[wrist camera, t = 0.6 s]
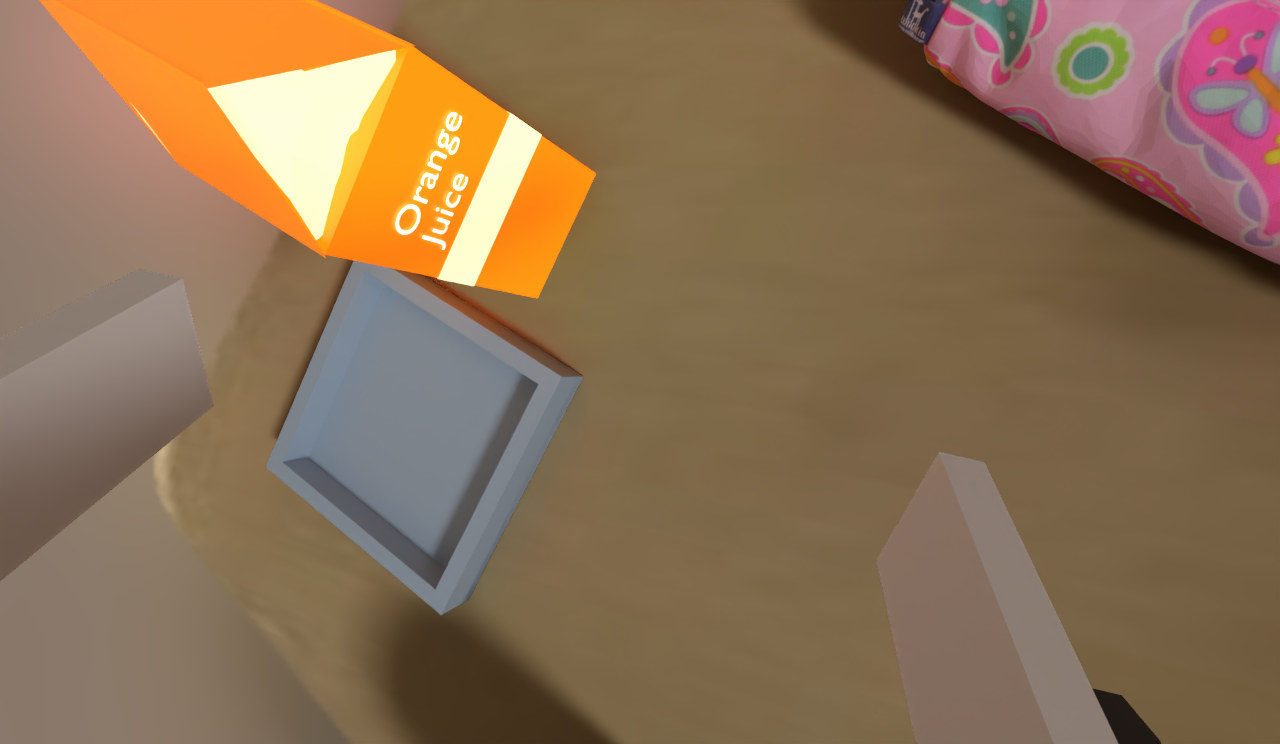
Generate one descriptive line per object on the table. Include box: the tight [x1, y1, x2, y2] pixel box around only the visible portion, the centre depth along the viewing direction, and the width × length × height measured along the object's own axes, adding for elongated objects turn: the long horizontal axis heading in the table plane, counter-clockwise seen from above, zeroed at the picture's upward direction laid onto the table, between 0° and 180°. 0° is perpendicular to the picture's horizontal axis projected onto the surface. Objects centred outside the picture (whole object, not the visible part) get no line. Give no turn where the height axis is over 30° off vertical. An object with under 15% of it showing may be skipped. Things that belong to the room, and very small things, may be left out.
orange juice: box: [39, 0, 596, 298], centre depth 27 cm, size 8×9×20 cm
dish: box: [266, 261, 583, 615], centre depth 37 cm, size 15×15×2 cm
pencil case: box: [898, 0, 1280, 265], centre depth 21 cm, size 21×9×9 cm, turn 52°
